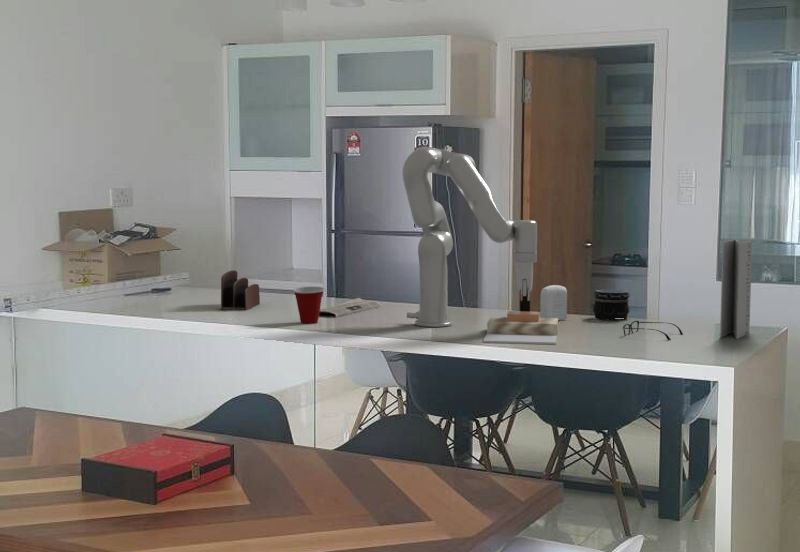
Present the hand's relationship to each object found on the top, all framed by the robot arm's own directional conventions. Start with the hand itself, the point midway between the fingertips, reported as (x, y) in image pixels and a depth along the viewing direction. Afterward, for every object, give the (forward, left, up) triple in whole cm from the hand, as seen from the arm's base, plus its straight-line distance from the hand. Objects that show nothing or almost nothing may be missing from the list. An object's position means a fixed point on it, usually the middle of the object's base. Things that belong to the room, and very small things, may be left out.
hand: (525, 312), depth 355 cm
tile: (0, -9, 0) cm, 10 cm away
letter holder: (-111, +39, -6) cm, 117 cm away
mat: (0, -25, -5) cm, 26 cm away
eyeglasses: (+41, -9, -6) cm, 42 cm away
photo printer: (+9, +21, -6) cm, 23 cm away
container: (+29, +29, -6) cm, 41 cm away
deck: (0, -10, -5) cm, 11 cm away
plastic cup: (-74, +1, -6) cm, 74 cm away
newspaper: (-68, +34, -6) cm, 76 cm away
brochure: (+67, -4, -6) cm, 67 cm away
